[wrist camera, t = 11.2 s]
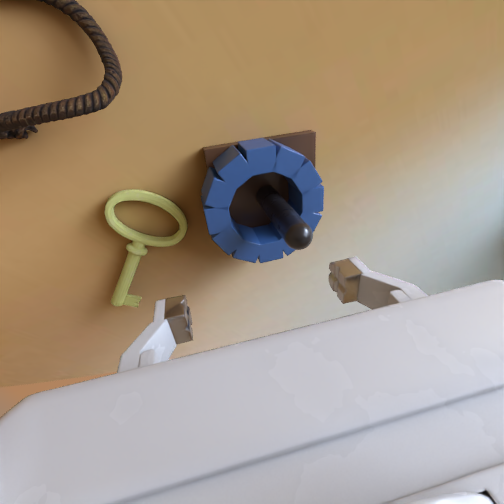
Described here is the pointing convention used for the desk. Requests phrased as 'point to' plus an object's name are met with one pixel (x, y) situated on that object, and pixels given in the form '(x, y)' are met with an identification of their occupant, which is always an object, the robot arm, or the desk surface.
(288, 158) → the ring
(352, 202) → the desk surface
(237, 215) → the peg stand
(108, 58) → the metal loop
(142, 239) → the key
